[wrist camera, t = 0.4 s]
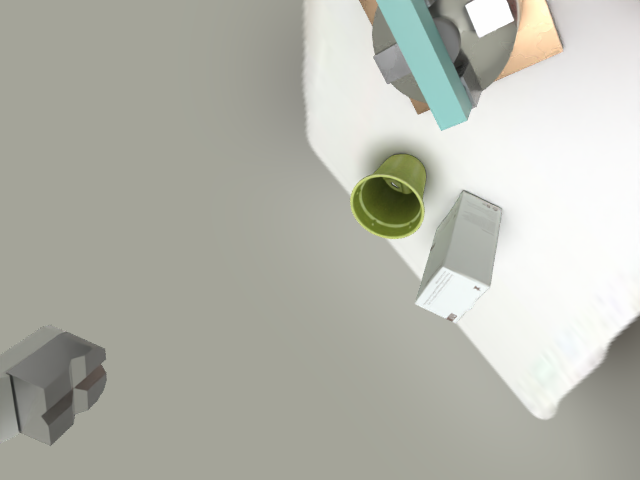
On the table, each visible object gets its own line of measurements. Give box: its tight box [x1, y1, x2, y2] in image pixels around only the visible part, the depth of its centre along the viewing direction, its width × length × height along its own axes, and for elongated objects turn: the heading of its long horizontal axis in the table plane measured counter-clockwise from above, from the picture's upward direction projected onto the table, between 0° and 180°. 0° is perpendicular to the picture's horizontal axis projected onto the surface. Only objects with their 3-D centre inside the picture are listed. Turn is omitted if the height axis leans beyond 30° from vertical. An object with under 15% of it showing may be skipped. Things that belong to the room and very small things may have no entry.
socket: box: [359, 0, 563, 115], centre depth 43 cm, size 16×16×12 cm
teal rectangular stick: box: [376, 0, 472, 131], centre depth 39 cm, size 4×12×5 cm, turn 35°
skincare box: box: [415, 191, 502, 323], centre depth 57 cm, size 8×6×15 cm
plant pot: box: [350, 154, 426, 239], centre depth 59 cm, size 9×9×9 cm
